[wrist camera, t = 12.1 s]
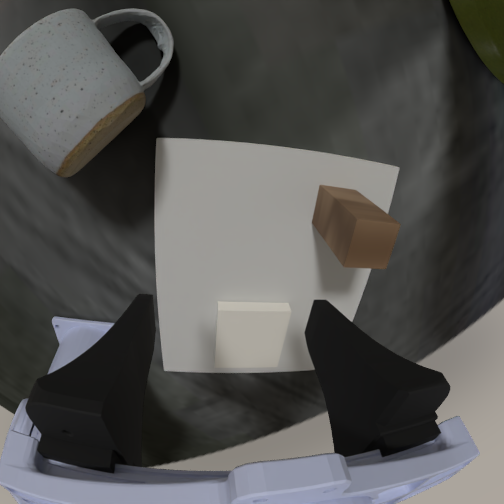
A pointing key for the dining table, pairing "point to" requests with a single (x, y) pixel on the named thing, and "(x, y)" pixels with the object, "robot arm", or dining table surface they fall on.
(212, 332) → the mat
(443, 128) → the dining table surface
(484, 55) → the plant pot
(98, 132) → the ceramic mug
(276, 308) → the tile
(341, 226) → the wooden block
